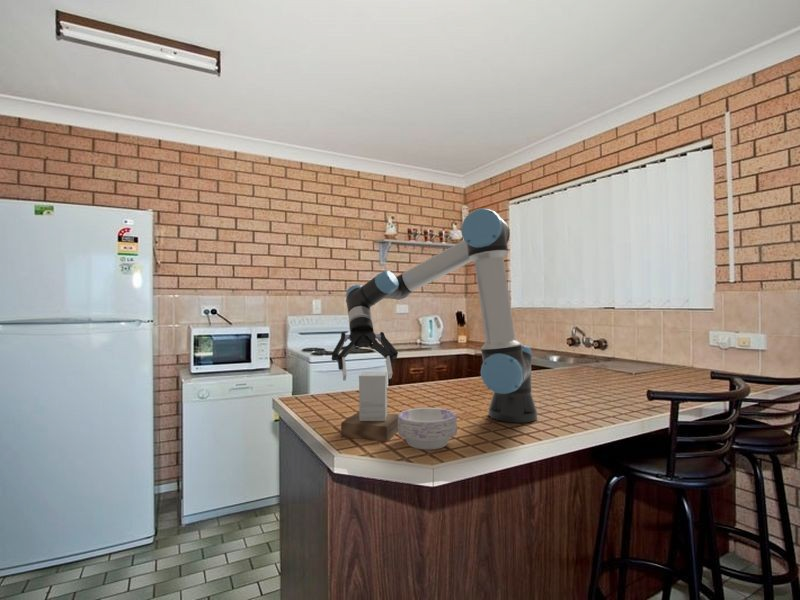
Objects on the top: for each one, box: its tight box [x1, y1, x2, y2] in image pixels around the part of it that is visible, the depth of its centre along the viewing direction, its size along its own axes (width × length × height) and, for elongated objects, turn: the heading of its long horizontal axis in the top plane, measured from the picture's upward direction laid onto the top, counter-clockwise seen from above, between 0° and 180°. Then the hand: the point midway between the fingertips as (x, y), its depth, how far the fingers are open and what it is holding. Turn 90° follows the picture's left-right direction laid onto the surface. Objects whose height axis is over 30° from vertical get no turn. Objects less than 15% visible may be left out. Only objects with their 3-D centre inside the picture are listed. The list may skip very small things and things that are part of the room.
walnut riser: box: [340, 411, 399, 443], centre depth 120 cm, size 13×13×4 cm
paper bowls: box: [397, 407, 458, 451], centre depth 110 cm, size 15×15×8 cm
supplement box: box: [358, 371, 388, 421], centre depth 120 cm, size 7×7×13 cm
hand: (368, 377), depth 125 cm, fingers open, 13 cm apart
